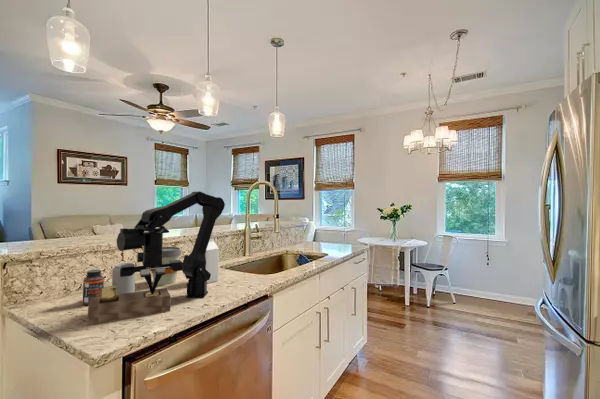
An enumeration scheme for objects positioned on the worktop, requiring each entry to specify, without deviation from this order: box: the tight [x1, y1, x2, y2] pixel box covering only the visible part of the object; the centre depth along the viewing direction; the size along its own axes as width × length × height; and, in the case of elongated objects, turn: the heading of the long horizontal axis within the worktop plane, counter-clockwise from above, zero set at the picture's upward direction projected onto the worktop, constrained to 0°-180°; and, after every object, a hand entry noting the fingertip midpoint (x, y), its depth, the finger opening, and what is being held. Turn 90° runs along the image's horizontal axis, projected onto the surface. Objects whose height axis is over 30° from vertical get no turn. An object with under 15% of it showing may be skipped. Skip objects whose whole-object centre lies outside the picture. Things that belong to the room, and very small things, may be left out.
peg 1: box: [102, 285, 117, 303], centre depth 90 cm, size 4×4×5 cm
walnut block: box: [87, 287, 171, 326], centre depth 93 cm, size 22×10×5 cm, turn 122°
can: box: [111, 262, 136, 294], centre depth 109 cm, size 8×8×12 cm
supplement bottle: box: [82, 269, 105, 306], centre depth 101 cm, size 6×6×11 cm
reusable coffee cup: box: [150, 246, 182, 286], centre depth 128 cm, size 13×13×15 cm
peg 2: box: [145, 291, 159, 297], centre depth 96 cm, size 4×4×5 cm
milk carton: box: [205, 238, 220, 285], centre depth 130 cm, size 7×7×19 cm
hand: (152, 293), depth 96 cm, fingers closed, pressing on peg 2
